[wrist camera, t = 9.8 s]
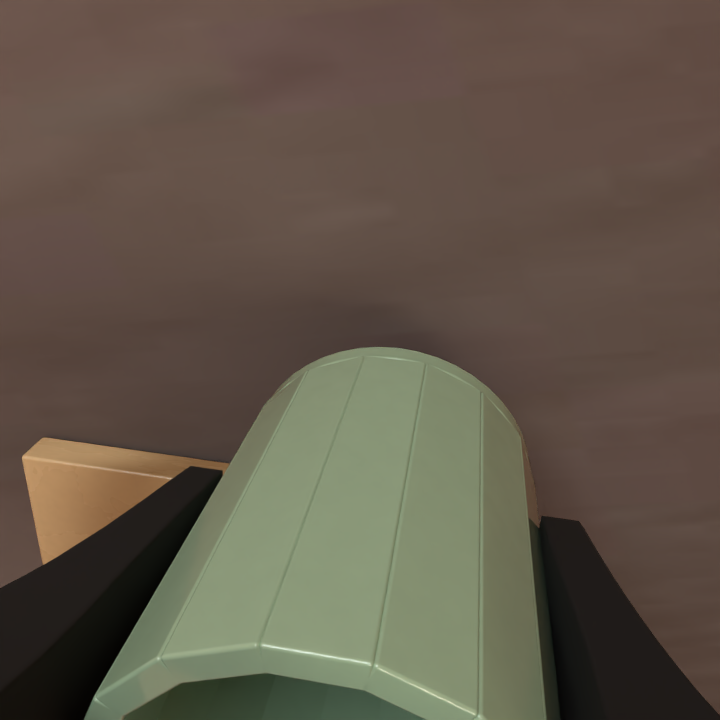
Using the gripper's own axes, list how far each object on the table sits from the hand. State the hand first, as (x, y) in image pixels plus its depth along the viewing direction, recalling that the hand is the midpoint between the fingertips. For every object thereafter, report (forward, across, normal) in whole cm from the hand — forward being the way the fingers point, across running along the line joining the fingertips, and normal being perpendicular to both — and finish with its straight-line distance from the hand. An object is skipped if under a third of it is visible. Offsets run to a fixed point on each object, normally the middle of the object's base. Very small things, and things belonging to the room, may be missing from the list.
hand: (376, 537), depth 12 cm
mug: (+2, 0, +2) cm, 3 cm away
